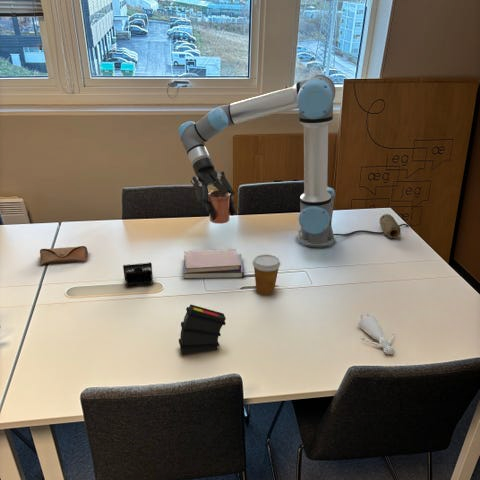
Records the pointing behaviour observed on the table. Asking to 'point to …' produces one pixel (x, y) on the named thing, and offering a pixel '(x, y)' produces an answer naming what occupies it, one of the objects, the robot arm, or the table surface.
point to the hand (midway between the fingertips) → (224, 216)
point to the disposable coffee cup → (265, 273)
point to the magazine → (200, 330)
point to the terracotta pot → (220, 206)
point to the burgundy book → (212, 261)
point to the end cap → (138, 274)
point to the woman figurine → (375, 333)
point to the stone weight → (389, 226)
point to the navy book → (216, 273)
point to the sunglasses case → (63, 255)
